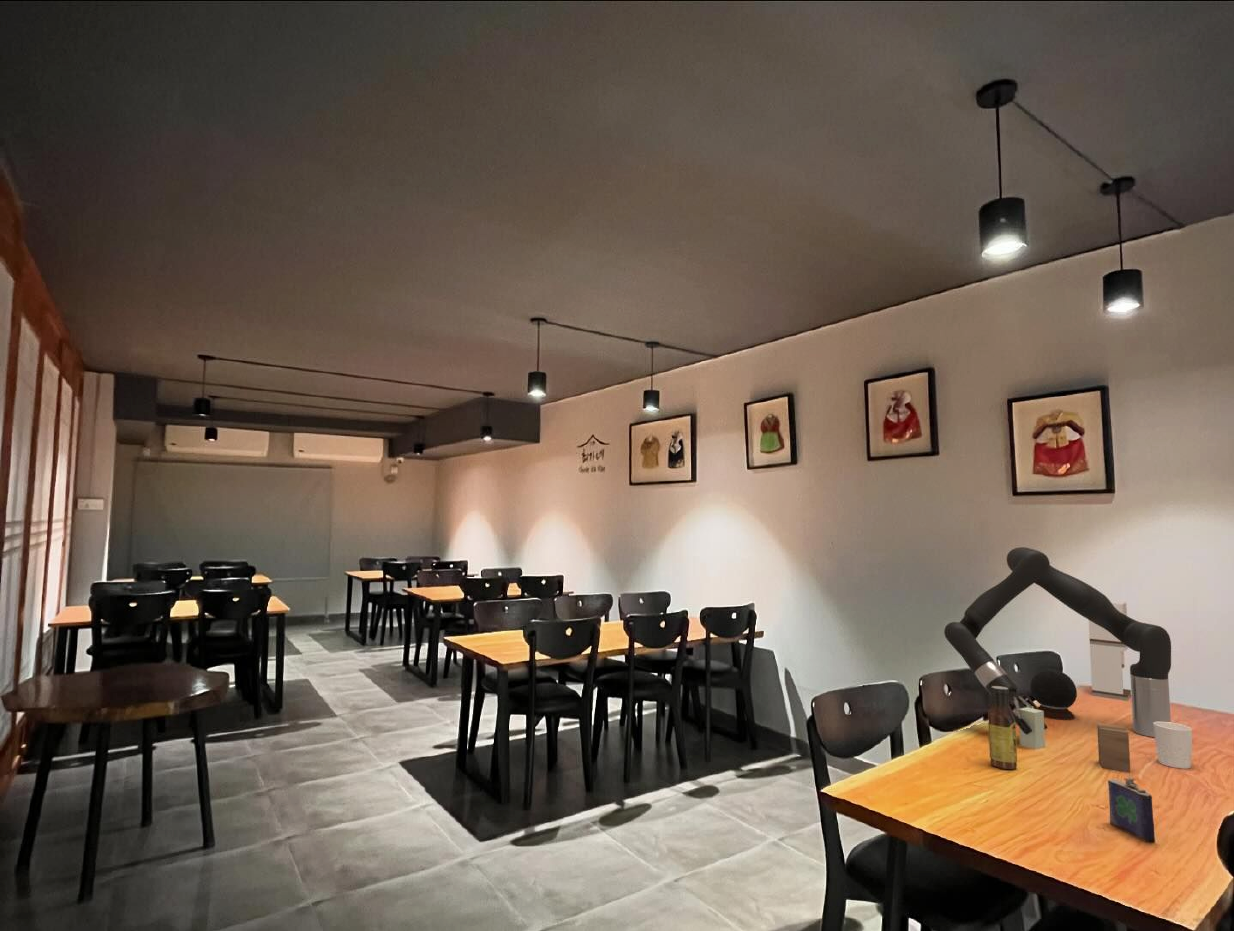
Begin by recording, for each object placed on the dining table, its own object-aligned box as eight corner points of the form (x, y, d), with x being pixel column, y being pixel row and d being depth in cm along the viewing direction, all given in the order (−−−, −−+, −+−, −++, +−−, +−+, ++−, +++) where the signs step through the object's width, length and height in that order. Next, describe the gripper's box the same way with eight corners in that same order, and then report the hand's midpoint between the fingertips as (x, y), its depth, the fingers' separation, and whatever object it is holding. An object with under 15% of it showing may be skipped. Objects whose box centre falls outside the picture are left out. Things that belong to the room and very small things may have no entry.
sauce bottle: (1021, 771, 169) (1018, 691, 171) (994, 769, 170) (992, 689, 172) (1011, 762, 175) (1009, 685, 177) (985, 760, 176) (983, 684, 178)
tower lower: (1098, 761, 178) (1098, 742, 178) (1126, 766, 175) (1126, 746, 175) (1101, 768, 173) (1100, 748, 173) (1130, 773, 170) (1129, 752, 170)
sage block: (1019, 744, 190) (1018, 709, 191) (1028, 742, 193) (1027, 707, 194) (1036, 749, 187) (1034, 713, 188) (1045, 747, 189) (1043, 711, 190)
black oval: (1071, 723, 214) (1069, 675, 215) (1025, 714, 223) (1024, 668, 225) (1082, 716, 222) (1080, 670, 224) (1037, 707, 232) (1036, 663, 233)
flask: (1106, 822, 140) (1104, 770, 141) (1119, 822, 140) (1116, 769, 141) (1147, 843, 130) (1144, 787, 131) (1160, 843, 131) (1157, 786, 132)
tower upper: (1097, 742, 178) (1097, 723, 179) (1125, 746, 175) (1124, 726, 176) (1100, 748, 173) (1099, 728, 174) (1129, 752, 170) (1128, 732, 170)
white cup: (1201, 771, 172) (1198, 731, 173) (1166, 768, 173) (1164, 728, 174) (1182, 760, 180) (1179, 722, 180) (1148, 758, 181) (1146, 720, 182)
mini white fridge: (1127, 700, 244) (1122, 604, 248) (1092, 695, 252) (1087, 601, 255) (1130, 695, 253) (1126, 602, 256) (1096, 690, 260) (1092, 599, 263)
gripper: (989, 675, 194) (1032, 727, 183) (1017, 671, 201) (1060, 720, 190) (972, 690, 198) (1013, 741, 187) (1001, 685, 205) (1041, 734, 194)
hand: (1037, 731), depth 189 cm, fingers open, 7 cm apart
